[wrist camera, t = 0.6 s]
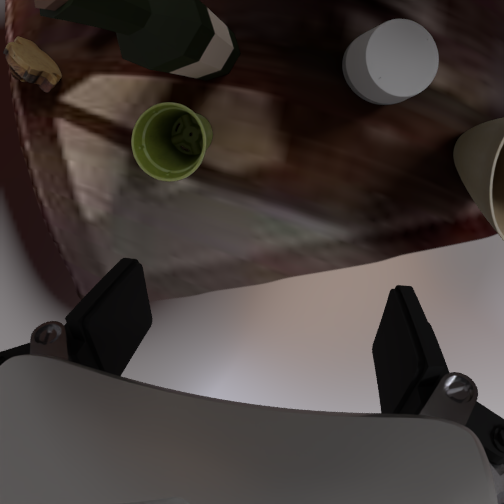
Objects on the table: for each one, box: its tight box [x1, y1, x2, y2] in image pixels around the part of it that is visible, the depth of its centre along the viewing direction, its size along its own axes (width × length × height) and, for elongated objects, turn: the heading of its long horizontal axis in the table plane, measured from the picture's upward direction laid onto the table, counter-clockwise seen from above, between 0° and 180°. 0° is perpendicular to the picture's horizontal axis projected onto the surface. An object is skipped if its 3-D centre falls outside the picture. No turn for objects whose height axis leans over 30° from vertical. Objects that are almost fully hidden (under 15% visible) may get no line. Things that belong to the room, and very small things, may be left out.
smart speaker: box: [342, 19, 439, 105], centre depth 27 cm, size 10×9×14 cm
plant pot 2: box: [453, 118, 504, 240], centre depth 28 cm, size 15×15×16 cm
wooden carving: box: [3, 37, 62, 93], centre depth 32 cm, size 16×5×10 cm, turn 48°
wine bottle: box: [35, 0, 240, 81], centre depth 21 cm, size 8×8×30 cm
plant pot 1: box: [131, 102, 213, 182], centre depth 37 cm, size 9×9×9 cm
